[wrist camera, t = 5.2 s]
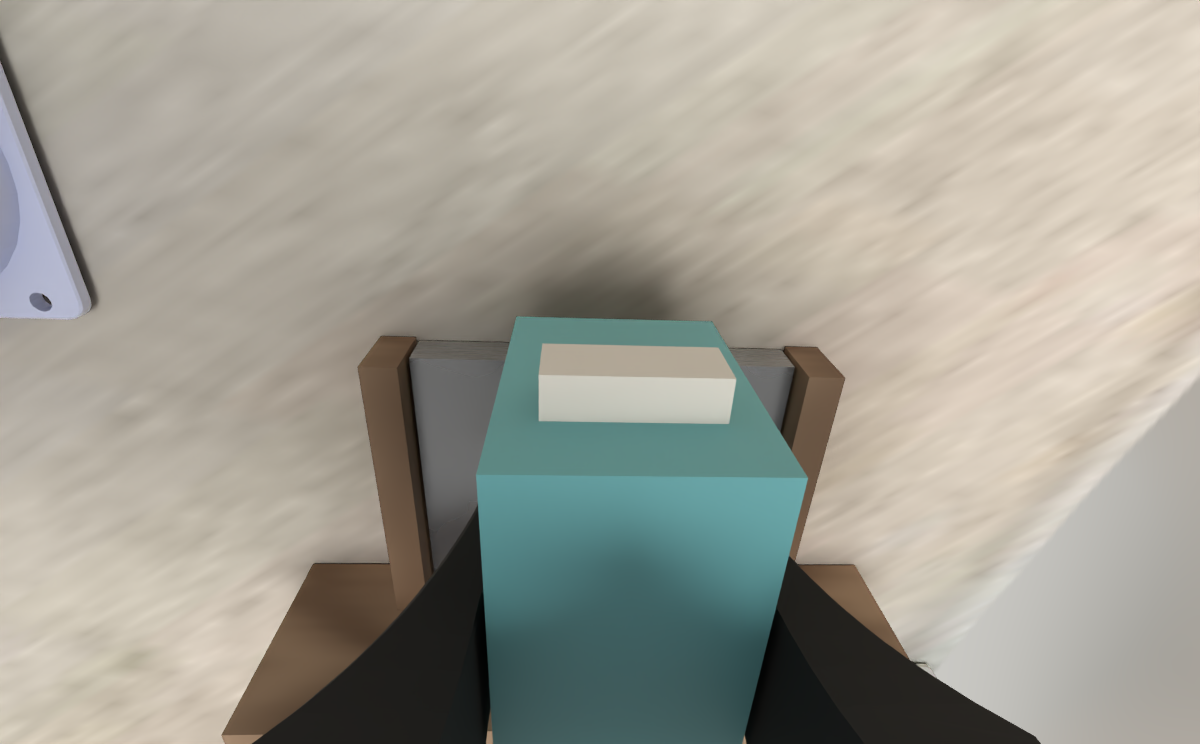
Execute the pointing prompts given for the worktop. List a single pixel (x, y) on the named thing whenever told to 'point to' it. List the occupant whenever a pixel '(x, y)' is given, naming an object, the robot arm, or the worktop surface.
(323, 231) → the worktop surface
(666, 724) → the cabinet block
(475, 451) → the grey flat plate
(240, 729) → the wooden tray
